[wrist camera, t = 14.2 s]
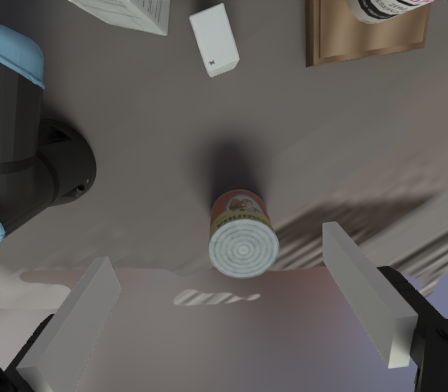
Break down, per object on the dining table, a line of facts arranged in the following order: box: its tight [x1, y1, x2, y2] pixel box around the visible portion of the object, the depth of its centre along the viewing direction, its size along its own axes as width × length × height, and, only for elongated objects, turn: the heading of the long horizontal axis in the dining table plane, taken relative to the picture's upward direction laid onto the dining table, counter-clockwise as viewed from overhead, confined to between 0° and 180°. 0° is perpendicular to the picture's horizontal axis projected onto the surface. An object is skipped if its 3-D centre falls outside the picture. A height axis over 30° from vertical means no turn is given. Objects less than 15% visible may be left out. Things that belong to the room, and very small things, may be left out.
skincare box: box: [189, 3, 239, 77], centre depth 34 cm, size 6×4×12 cm
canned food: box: [208, 189, 279, 278], centre depth 45 cm, size 11×11×12 cm
